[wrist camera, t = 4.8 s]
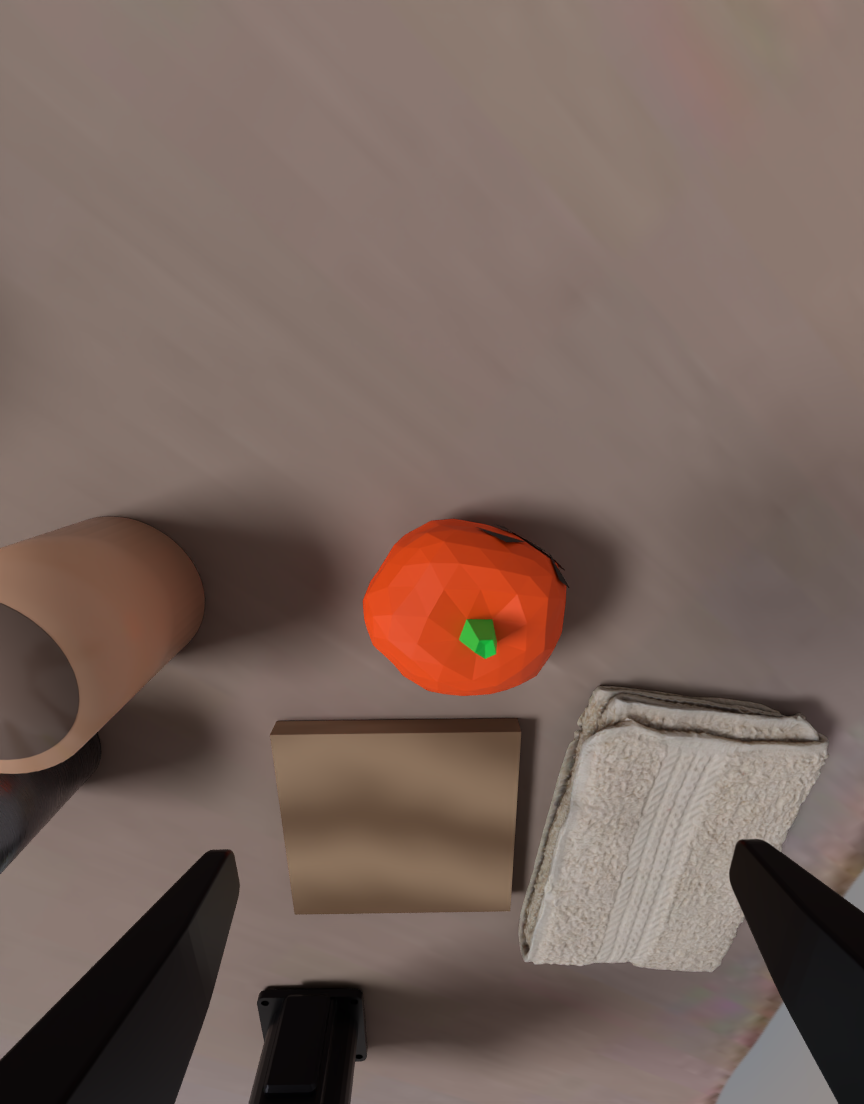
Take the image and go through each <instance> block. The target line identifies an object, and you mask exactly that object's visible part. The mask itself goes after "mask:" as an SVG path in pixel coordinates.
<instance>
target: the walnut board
mask: <svg viewBox="0 0 864 1104" xmlns="http://www.w3.org/2000/svg"><path fill="white" fill-rule="evenodd" d="M270 738H271V746H272V753H273V760H274V768H275V775H276V782H277V789H278V797H279V804H280V811H281V818H282V826H283V833H284V840H285V847H286V855H287V862H288V869H289V876H290V884H291V891H292V898H293V905H294V913H295V914H357V913H423V912H490V911H510V905H511V889H512V873H513V857H514V841H515V825H516V809H517V793H518V777H519V760H520V744H521V729H520V726H519V722H518V719H517V718H500V719H419V720H337V721H277V722H276V724H275V726H274V728H273V730H272V732H271V734H270Z"/></svg>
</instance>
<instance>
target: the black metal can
mask: <svg viewBox="0 0 864 1104" xmlns="http://www.w3.org/2000/svg"><path fill="white" fill-rule="evenodd" d="M100 757H101V745H100V740H99V737H98V734H97V733H96V734H95V735H94V736H93V737H92V738H91V739H90V740H89V741H88V742H87V743H86V744H85V745H84V746H83V747H82V748H80V749H79V750H78V751H77V752H76V753H75V754H74V755H73V756H71V757H70V758H68V759H67V760H65V761H64V762H62V763H59V764H57V765H55V766H53V767H50V768H47V769H44V770H41V771H35V772H30V773H19V774H4V773H0V874H1V873H2V872H3V871H4V870H5V869H6V868H7V866H8V865H9V864H10V863H11V862H12V861H13V860H14V859H15V858H16V857H17V856H18V854H19V853H20V852H21V851H22V850H23V849H24V848H25V847H26V846H27V845H28V844H29V842H30V841H31V840H32V839H33V838H34V837H35V836H36V835H37V834H38V833H39V832H40V830H41V829H42V828H43V827H44V826H45V825H46V824H47V823H48V822H49V821H50V819H51V818H52V817H53V816H54V815H55V814H56V813H57V812H58V811H59V810H60V809H61V807H62V806H63V805H64V804H65V803H66V802H67V801H68V800H69V799H70V798H71V797H72V795H73V794H74V793H75V792H76V791H77V790H78V789H79V788H80V787H81V786H82V785H83V783H84V782H85V781H86V780H87V779H88V778H89V777H90V776H91V775H92V774H93V772H94V771H95V770H96V768H97V766H98V764H99V761H100Z"/></svg>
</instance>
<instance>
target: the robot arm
mask: <svg viewBox="0 0 864 1104" xmlns="http://www.w3.org/2000/svg"><path fill="white" fill-rule="evenodd" d="M729 879H730V884H731V887H732V889H733V892H734V894H735V896H736V898H737V901H738V903H739V905H740V907H741V910H742V912H743V914H744V916H745V919H746V921H747V923H748V925H749V928H750V930H751V932H752V934H753V936H754V939H755V941H756V943H757V945H758V948H759V950H760V952H761V954H762V957H763V959H764V961H765V963H766V966H767V968H768V970H769V972H770V974H771V977H772V979H773V981H774V983H775V985H776V987H777V989H778V992H779V994H780V996H781V998H782V1000H783V1001H784V1003H785V1005H786V1007H787V1009H788V1011H789V1013H790V1015H791V1017H792V1019H793V1020H794V1022H795V1024H796V1026H797V1028H798V1030H799V1032H800V1033H801V1035H802V1037H803V1039H804V1041H805V1043H806V1045H807V1046H808V1048H809V1050H810V1052H811V1054H812V1056H813V1057H814V1059H815V1061H816V1063H817V1065H818V1066H819V1069H820V1070H821V1072H822V1074H823V1076H824V1078H825V1080H826V1081H827V1083H828V1085H829V1087H830V1089H831V1091H832V1093H833V1094H834V1096H835V1098H836V1100H837V1102H838V1104H864V913H863V912H862V911H861V910H859V909H858V908H856V907H855V906H854V905H852V904H851V903H850V902H848V901H847V900H846V899H844V898H843V897H842V896H840V895H839V894H837V893H836V892H835V891H833V890H832V889H831V888H829V887H828V886H827V885H825V884H824V883H822V882H821V881H820V880H818V879H817V878H816V877H814V876H813V875H812V874H810V873H809V872H807V871H806V870H805V869H803V868H802V867H801V866H799V865H798V864H797V863H795V862H794V861H792V860H791V859H790V858H788V857H787V856H786V855H784V854H783V853H782V852H780V851H779V850H777V849H776V848H775V847H773V846H772V845H771V844H769V843H768V842H766V841H764V840H761V839H741V840H739V841H738V842H737V843H736V845H735V849H734V853H733V857H732V861H731V865H730V869H729ZM239 888H240V883H239V877H238V872H237V867H236V862H235V857H234V853H233V852H232V851H231V850H228V849H225V850H210V851H208V852H206V853H205V854H204V855H203V856H202V857H201V858H200V859H199V860H198V861H197V862H196V863H195V864H194V865H193V866H192V867H191V868H190V869H189V870H188V871H187V872H186V873H185V874H184V875H183V876H182V877H181V878H180V879H179V880H178V881H177V882H176V883H175V884H174V885H173V886H172V887H171V888H170V889H169V890H168V891H167V892H166V893H165V894H164V895H163V896H162V897H161V898H160V899H159V900H158V901H157V902H156V903H155V904H154V905H153V906H152V907H151V908H150V909H149V910H148V911H147V912H146V913H145V914H144V915H143V916H142V917H141V918H140V919H139V920H138V921H137V922H136V923H135V924H134V925H133V926H132V927H131V928H130V929H129V930H128V931H127V932H126V933H125V934H124V935H123V936H122V938H121V939H120V940H119V941H118V942H117V943H116V944H115V945H114V946H113V947H112V948H111V949H110V950H109V951H108V952H107V953H106V954H105V955H104V956H103V957H102V958H101V959H100V960H99V961H98V962H97V963H96V964H95V965H94V966H93V967H92V968H91V969H90V970H89V971H88V972H87V973H86V974H85V975H84V976H83V977H82V978H81V979H80V980H79V981H78V982H77V983H76V984H75V985H74V986H73V987H72V988H71V989H70V990H69V991H68V992H67V993H66V994H65V995H64V996H63V997H62V998H61V999H60V1000H59V1001H58V1002H57V1003H56V1004H55V1005H54V1006H53V1007H52V1008H51V1009H50V1010H49V1011H48V1012H47V1013H46V1014H45V1015H44V1016H43V1017H42V1018H41V1019H40V1020H39V1021H38V1022H37V1023H36V1024H35V1025H34V1026H33V1027H32V1028H31V1029H30V1030H29V1031H28V1032H27V1033H26V1034H25V1035H24V1036H23V1037H22V1038H21V1039H20V1040H19V1042H18V1043H17V1044H16V1045H15V1046H14V1047H13V1048H12V1049H11V1050H10V1051H9V1052H8V1053H7V1054H6V1055H5V1056H4V1057H3V1058H2V1059H1V1060H0V1104H174V1103H175V1101H176V1098H177V1095H178V1092H179V1089H180V1087H181V1084H182V1081H183V1078H184V1075H185V1073H186V1070H187V1067H188V1064H189V1061H190V1059H191V1056H192V1053H193V1050H194V1047H195V1045H196V1042H197V1039H198V1036H199V1034H200V1031H201V1028H202V1025H203V1022H204V1019H205V1016H206V1013H207V1010H208V1007H209V1004H210V1000H211V997H212V993H213V990H214V986H215V982H216V979H217V975H218V971H219V967H220V964H221V960H222V956H223V952H224V949H225V945H226V941H227V937H228V934H229V930H230V926H231V923H232V919H233V915H234V911H235V908H236V904H237V900H238V896H239ZM257 1006H258V1011H259V1016H260V1022H261V1027H262V1032H263V1038H264V1045H263V1049H262V1053H261V1057H260V1061H259V1065H258V1069H257V1073H256V1077H255V1080H254V1084H253V1088H252V1092H251V1096H250V1100H249V1104H350V1102H351V1093H352V1084H353V1075H354V1066H355V1062H356V1061H364V1060H365V1059H366V1057H367V1037H366V1025H365V1012H364V1000H363V992H362V991H361V990H359V989H302V990H264V991H261V992H260V994H259V997H258V1001H257Z"/></svg>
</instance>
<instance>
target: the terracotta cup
mask: <svg viewBox="0 0 864 1104" xmlns="http://www.w3.org/2000/svg"><path fill="white" fill-rule="evenodd" d="M204 610H205V596H204V589H203V585H202V581H201V579H200V576H199V574H198V571H197V570H196V568H195V566H194V564H193V562H192V561H191V560H190V558H189V557H188V555H187V554H186V553H185V552H184V551H183V550H182V548H181V547H180V546H179V545H178V544H176V543H175V542H174V541H173V540H172V539H171V538H169V537H168V536H167V535H165V534H164V533H162V532H161V531H159V530H157V529H156V528H154V527H152V526H150V525H147V524H145V523H143V522H140V521H136V520H133V519H129V518H123V517H112V516H106V517H96V518H92V519H87V520H84V521H81V522H78V523H75V524H72V525H69V526H66V527H63V528H60V529H57V530H54V531H51V532H48V533H45V534H42V535H39V536H36V537H33V538H29V539H26V540H23V541H20V542H17V543H14V544H11V545H8V546H5V547H2V548H0V773H4V774H19V773H30V772H35V771H41V770H44V769H47V768H50V767H53V766H55V765H57V764H59V763H62V762H64V761H65V760H67V759H68V758H70V757H71V756H73V755H74V754H75V753H76V752H77V751H78V750H79V749H80V748H82V747H83V746H84V745H85V744H86V743H87V742H88V741H89V740H90V739H91V738H92V737H93V736H94V735H95V734H96V733H97V732H98V731H99V730H100V729H101V728H102V727H103V726H104V725H105V724H106V723H107V722H108V721H109V720H110V719H111V718H112V717H113V716H114V715H115V714H116V713H117V712H118V711H119V710H120V709H121V708H122V707H123V706H124V705H125V704H126V703H127V702H128V701H129V700H130V699H132V698H133V697H134V696H135V695H136V694H137V693H138V692H139V691H140V690H141V689H142V688H143V687H144V686H145V685H146V684H147V683H148V682H149V681H150V680H151V679H152V678H153V677H154V676H155V675H156V674H157V673H158V672H159V671H160V670H161V669H162V668H163V667H164V666H165V665H166V664H167V663H168V662H169V661H170V660H171V659H172V658H173V657H174V656H175V655H176V654H177V653H178V652H179V651H180V650H181V649H182V648H183V647H184V646H186V645H187V644H188V643H189V642H190V641H191V639H192V638H193V637H194V635H195V634H196V633H197V631H198V629H199V627H200V625H201V622H202V619H203V615H204Z"/></svg>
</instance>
